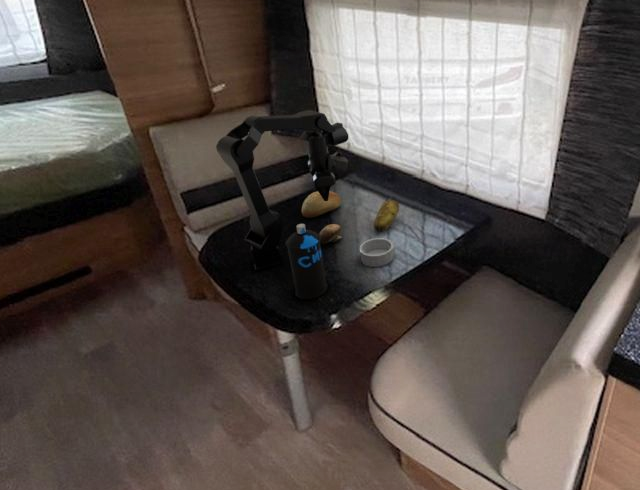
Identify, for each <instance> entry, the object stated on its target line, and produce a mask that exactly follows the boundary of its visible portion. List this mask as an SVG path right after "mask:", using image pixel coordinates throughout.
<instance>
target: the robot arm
mask: <svg viewBox="0 0 640 490" xmlns="http://www.w3.org/2000/svg"><path fill="white" fill-rule="evenodd" d="M343 125H344V123H342V122H335V123H334V124H332V123H331V122H330V121H329V119H328V118H327V116H326V115H325V113H324V112H320V111H319V112H318V111H316V110H315V111H314V110H311V109H307V110H302V111H299V112H296V113H295V114H287V115H285V114H284V115H264V116H262V115H261V116H260V115H259V116H256V115H250V116H247V117H245V119H244V120H243V121H242V122H241V123H240V124H238V125H236V126H235V127H233V128H232V129H231V130H229V131H228V132H227V134H226V135H224V136H222V137H221V138H220V139H219V140H218V141H217V143H216V145H215V148H216V152H217V153H218V155H219V156H220V158H221V160H222V161H223V162H224V164H226V165H227V166H228V167H229V168H230V170H232V172H233V175H234V176H235V180H236V182H237V184H238V186H239V189H240V192H241V193H242V196H243V199H244V200H245V203H246V205H247V208H248V210H249V212H250V218H249V227H250V229H249V230H248V232H247V234H246V235H245V237H244V238H243V240H244V242H245V243H246V245H249V246H250V247H251V249H250V250H251V253H252V259H253V263H254V270H255V271H261V270H266V269H269V268H273V267H277V266H280V264H281V262H280V261H281V252H280V248H279V246H280V243H281V238H282V233H283V232H284V228H283V226H284V225H285V224H284V223H283V222H282V217H281V215H280V213H279V212H277V211H273V210H271V209H270V208H269V206H268V203H267V201H266V198H265V196H264V193H263V191H262V188H261V185H260V182H259V180H258V177H257V175H256V172H255V170H254V162H255V153H254V150H255V149H256V148H257V147H258V146H259V144H260V142H261V138H262V136H263V134H264V133H265V132H274V131H275V132H276V131H277V132H278V131H290V130H304V131H303V134H301V136H299V139H300V140H302V141H306V144H307V145H306V146H307V151H308V152H307V154H308V158H309V159H308V161H307V166H308V170H309V173H310V175H311V177H312V181H313V186H314V188H315V189H316V192H317V191H318V192H319V194H320V195H321V197H322V198H323V200H324V201H328V198H329V191H331V187H332V186H335V185H336V181H337V180H336V177H335V174H334V173H333V172H331V171H333V169H335V170H341V171H342V172H343V171H344V172H345V171H347V168H348V164H349V160H348V158H346V157H345V156H343V154H342V152H340V151H336V152H335V153H333V154H330V152H329V150H328V149H329V148H328V147H331V148H332V147H335V146H339V145H341V144H344V143H347V142H348V140H349V133H348V132H347V129H346V128H345V127H344V126H343ZM309 131H311V132H309Z"/></svg>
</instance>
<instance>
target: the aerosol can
mask: <svg viewBox="0 0 640 490" xmlns="http://www.w3.org/2000/svg"><path fill="white" fill-rule="evenodd" d="M319 234H320V233H317V232H315V231H313V230H310V229H306V224H305V223H299V224H297V225H296V231H295V232H293V233H292V234H290V236H289V237H288V238H287V239H286V240H285V246H286V248H287V251H288V256H289V257H288V258H289V262H290V268H291V272H292V278H293V282H294V287H295V291H294V294H295V296H296V297H297V299H301V300H312V299H316V298H318V297H321V296H322V295H323V294H324V293H325V292H326V291H327V289H328V283H327V280H326V273H325V268H324V260H323V254H322V248H321V242H320V241H319V240H320V236H319Z"/></svg>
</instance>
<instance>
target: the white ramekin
mask: <svg viewBox="0 0 640 490" xmlns="http://www.w3.org/2000/svg"><path fill="white" fill-rule="evenodd" d="M394 245H395V244H394V243H393V240H390V239H389V238H385V237H374V238H369V239H368V240H366V241H363V242H362V243H361V244H360V245H359V249H358V250H359V251H358V252H359V259H360V261H361V263H362V264H363V265H364V266H367V267H369V268H380V267H383V266H386V265H388V264H390V263H391V262H392V261H393V259H394V258H395V246H394Z"/></svg>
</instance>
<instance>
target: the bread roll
mask: <svg viewBox="0 0 640 490" xmlns="http://www.w3.org/2000/svg"><path fill="white" fill-rule="evenodd" d="M341 203H342V200H341V197H340V195H339V194H337V193H335V192H334V191H332V190H330V191H329V198H328V201H324V200H323V198H322V197H321V195H320V194H319V192H318V191H317V190H316V191H314V192H312V193H310V194H309V195H308V196H307V197H306V198H305V199H304V201H303V202H302V206H301V214H302V216H303V217H304V218H308V219H311V218H316V217H318V216H321V215H324V214H326V213H328V212H331V211H333V210H337V208H339V207H340V205H341Z"/></svg>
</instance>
